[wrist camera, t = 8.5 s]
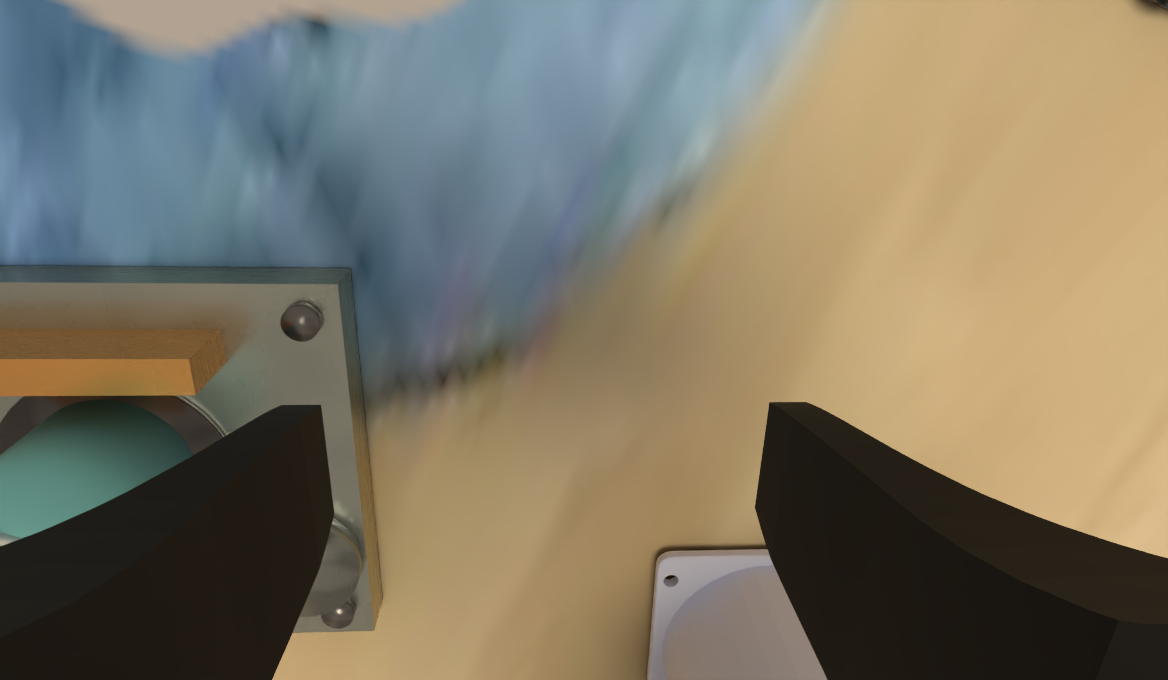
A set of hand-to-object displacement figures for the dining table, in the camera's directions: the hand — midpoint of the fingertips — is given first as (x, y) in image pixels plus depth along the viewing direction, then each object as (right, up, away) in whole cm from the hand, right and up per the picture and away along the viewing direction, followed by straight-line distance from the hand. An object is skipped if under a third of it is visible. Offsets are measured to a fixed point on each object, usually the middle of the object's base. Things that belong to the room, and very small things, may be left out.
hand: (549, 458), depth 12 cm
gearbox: (-12, -2, +11) cm, 16 cm away
